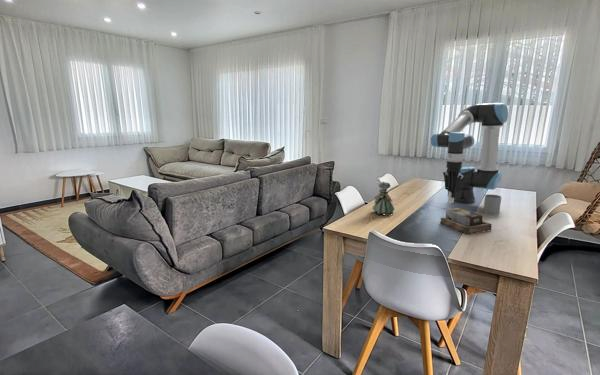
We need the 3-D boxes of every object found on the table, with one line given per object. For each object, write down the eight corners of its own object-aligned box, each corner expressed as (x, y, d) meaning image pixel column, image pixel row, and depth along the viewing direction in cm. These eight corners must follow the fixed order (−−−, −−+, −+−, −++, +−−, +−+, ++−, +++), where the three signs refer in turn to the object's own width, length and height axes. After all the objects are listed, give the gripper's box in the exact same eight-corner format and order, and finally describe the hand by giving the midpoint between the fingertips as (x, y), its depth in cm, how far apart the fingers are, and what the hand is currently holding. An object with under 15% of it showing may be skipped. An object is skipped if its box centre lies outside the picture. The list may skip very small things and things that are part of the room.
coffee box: (457, 207, 179) (483, 215, 165) (456, 218, 181) (482, 226, 166) (445, 209, 176) (471, 217, 161) (444, 220, 177) (470, 229, 163)
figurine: (365, 213, 195) (366, 181, 190) (377, 208, 205) (378, 178, 200) (387, 218, 185) (388, 185, 181) (398, 212, 195) (400, 181, 191)
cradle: (440, 223, 175) (440, 217, 174) (463, 219, 180) (463, 214, 179) (466, 234, 158) (467, 228, 158) (490, 230, 163) (491, 224, 163)
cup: (498, 210, 195) (500, 195, 193) (500, 214, 188) (502, 198, 185) (482, 209, 198) (484, 194, 196) (483, 213, 191) (485, 197, 189)
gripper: (440, 159, 177) (436, 200, 182) (458, 163, 165) (454, 206, 170) (450, 159, 179) (447, 199, 184) (469, 162, 167) (465, 205, 172)
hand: (450, 202), depth 177 cm, fingers closed
